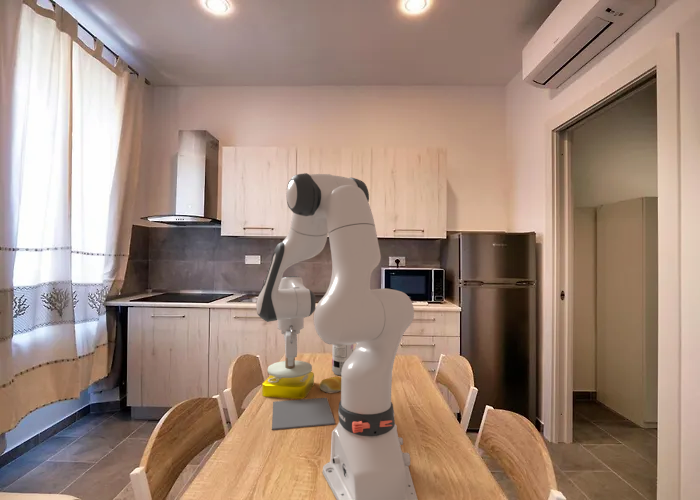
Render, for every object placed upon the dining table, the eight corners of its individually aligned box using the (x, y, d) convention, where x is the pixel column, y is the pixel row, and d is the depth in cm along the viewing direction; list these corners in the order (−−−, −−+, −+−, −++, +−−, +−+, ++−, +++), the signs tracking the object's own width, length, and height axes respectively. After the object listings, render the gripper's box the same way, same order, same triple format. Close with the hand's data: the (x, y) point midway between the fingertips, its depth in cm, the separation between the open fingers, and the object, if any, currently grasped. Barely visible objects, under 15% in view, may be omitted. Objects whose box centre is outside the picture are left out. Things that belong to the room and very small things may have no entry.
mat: (335, 424, 95) (335, 422, 95) (271, 430, 92) (271, 428, 92) (326, 398, 112) (326, 397, 112) (273, 402, 108) (273, 401, 108)
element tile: (304, 400, 111) (304, 385, 111) (259, 397, 113) (260, 383, 113) (315, 383, 126) (315, 370, 126) (275, 381, 128) (275, 368, 128)
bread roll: (350, 388, 121) (350, 376, 121) (331, 395, 115) (332, 383, 115) (333, 382, 127) (333, 371, 127) (315, 388, 120) (315, 377, 120)
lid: (313, 376, 113) (314, 359, 113) (266, 379, 110) (267, 361, 110) (309, 362, 127) (310, 347, 128) (268, 364, 124) (268, 349, 125)
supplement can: (329, 370, 138) (329, 333, 139) (347, 368, 142) (348, 331, 142) (337, 377, 131) (337, 337, 131) (356, 374, 135) (356, 335, 135)
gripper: (301, 329, 109) (301, 373, 109) (298, 317, 129) (298, 354, 129) (281, 329, 108) (281, 374, 108) (281, 318, 128) (280, 355, 128)
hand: (290, 363), depth 119 cm, fingers closed on lid, 3 cm apart
